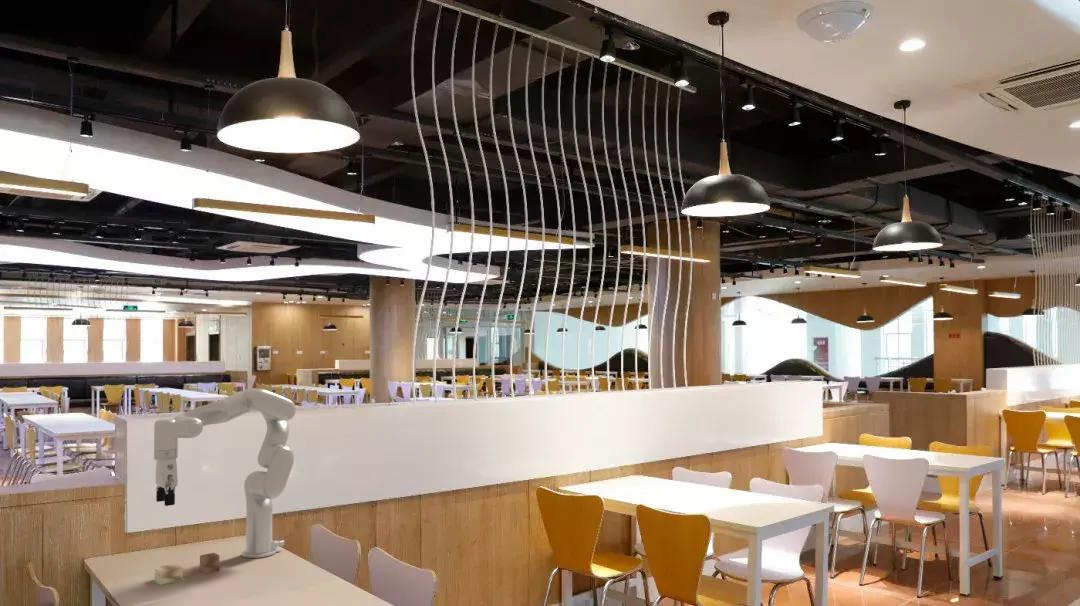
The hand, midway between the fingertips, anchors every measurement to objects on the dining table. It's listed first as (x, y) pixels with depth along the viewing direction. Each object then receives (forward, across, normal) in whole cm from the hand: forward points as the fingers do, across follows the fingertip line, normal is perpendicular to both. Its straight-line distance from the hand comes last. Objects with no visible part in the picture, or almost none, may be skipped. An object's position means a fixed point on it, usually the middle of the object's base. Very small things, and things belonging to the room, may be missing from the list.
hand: (165, 503), depth 273 cm
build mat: (+25, -8, +1) cm, 26 cm away
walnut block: (+25, -7, -13) cm, 29 cm away
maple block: (+24, -8, +1) cm, 26 cm away
